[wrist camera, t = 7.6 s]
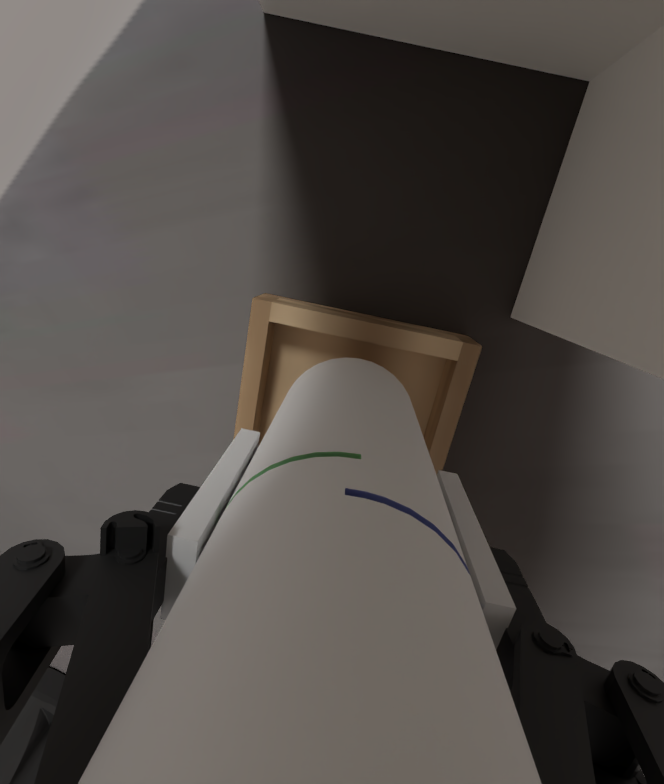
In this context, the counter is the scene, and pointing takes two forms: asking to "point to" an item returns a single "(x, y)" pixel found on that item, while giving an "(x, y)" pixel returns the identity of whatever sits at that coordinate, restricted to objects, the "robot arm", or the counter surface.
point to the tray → (354, 340)
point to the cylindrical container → (325, 620)
